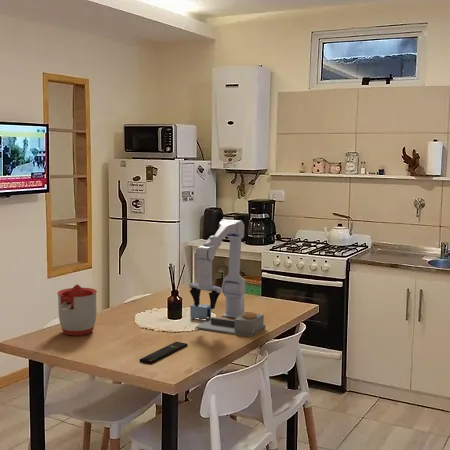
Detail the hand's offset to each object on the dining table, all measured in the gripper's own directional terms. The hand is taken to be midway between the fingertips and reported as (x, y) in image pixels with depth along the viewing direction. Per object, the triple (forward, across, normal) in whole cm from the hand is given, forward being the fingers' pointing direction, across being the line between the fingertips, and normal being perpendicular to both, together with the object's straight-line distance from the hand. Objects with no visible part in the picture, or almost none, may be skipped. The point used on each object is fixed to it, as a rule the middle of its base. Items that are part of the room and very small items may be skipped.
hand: (204, 307), depth 258 cm
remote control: (+10, +3, -32) cm, 34 cm away
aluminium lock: (+10, -12, +14) cm, 21 cm away
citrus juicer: (+10, -42, -31) cm, 53 cm away
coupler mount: (+10, +7, +9) cm, 15 cm away
